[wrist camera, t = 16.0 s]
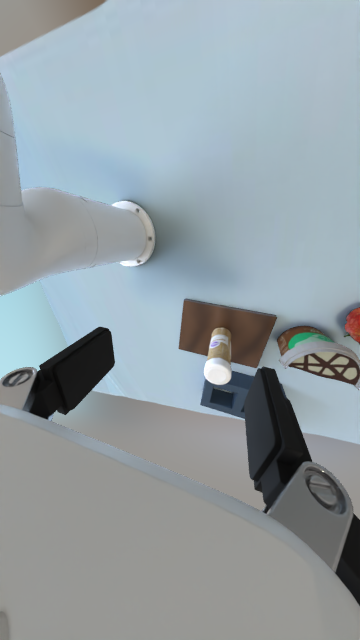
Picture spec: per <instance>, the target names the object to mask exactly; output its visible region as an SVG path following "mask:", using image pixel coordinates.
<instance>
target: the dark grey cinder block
mask: <svg viewBox="0 0 360 640" xmlns="http://www.w3.org/2000/svg"><path fill="white" fill-rule="evenodd" d="M253 379H254V377H253V376H249V375H245V374H241V373H238V372H234V371H231V379H230V381H229V382H228V383H226V384H223V385H216V384H213V383H211V382H209V381H208V380H207V379H206V380H205V384H204V389H203V393H202V399H201V404H200V405H202V406H206V407H209V408H212V409H215V410H218V411H222V412H225V413H228V414H231V415H234V416H238V417H241V418H244V419H245V411H244V402H245V399H246V396H247V394H248V391H249V389H250V387H251V384H252V382H253ZM280 386H281V389H282V392H283V395H284V398H286V395H285V392H284V389H283V386H282V384H280ZM213 387H217V388H220V389H224V390H227V391H231V392H233V393H232V394H231V393H227V392H224V391H221V390H217V389H214V388H213Z"/></svg>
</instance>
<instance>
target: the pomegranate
mask: <svg viewBox="0 0 360 640" xmlns="http://www.w3.org/2000/svg"><path fill="white" fill-rule="evenodd" d="M346 321H347V323H346V324H345V330H346V332H349V335H346V336H350V335H351V337H352V338H353V339H354V340H356V341H357V342H358V343H359V344H360V307H359V308H356V309H354V310H353V311H351V312H350V313H349V315H348V316H347V318H346ZM346 336H344V337H346Z"/></svg>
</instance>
